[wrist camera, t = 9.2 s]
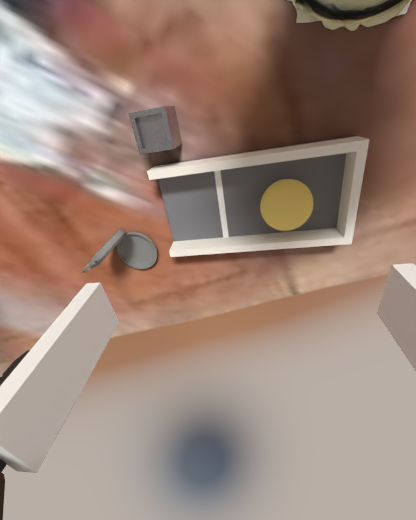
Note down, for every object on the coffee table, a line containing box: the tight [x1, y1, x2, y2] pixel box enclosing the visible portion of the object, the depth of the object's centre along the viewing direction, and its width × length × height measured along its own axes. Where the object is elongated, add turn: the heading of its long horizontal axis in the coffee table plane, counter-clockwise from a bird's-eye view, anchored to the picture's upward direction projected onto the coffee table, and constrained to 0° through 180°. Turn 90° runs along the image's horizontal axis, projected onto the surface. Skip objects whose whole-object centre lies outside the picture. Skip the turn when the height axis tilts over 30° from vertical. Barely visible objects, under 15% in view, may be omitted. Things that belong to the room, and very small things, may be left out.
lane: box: [147, 136, 369, 257], centre depth 31 cm, size 24×12×4 cm, turn 99°
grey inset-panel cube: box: [129, 106, 182, 154], centre depth 28 cm, size 4×4×4 cm
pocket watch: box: [82, 229, 158, 272], centre depth 35 cm, size 8×8×10 cm
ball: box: [260, 179, 313, 231], centre depth 29 cm, size 6×6×6 cm
